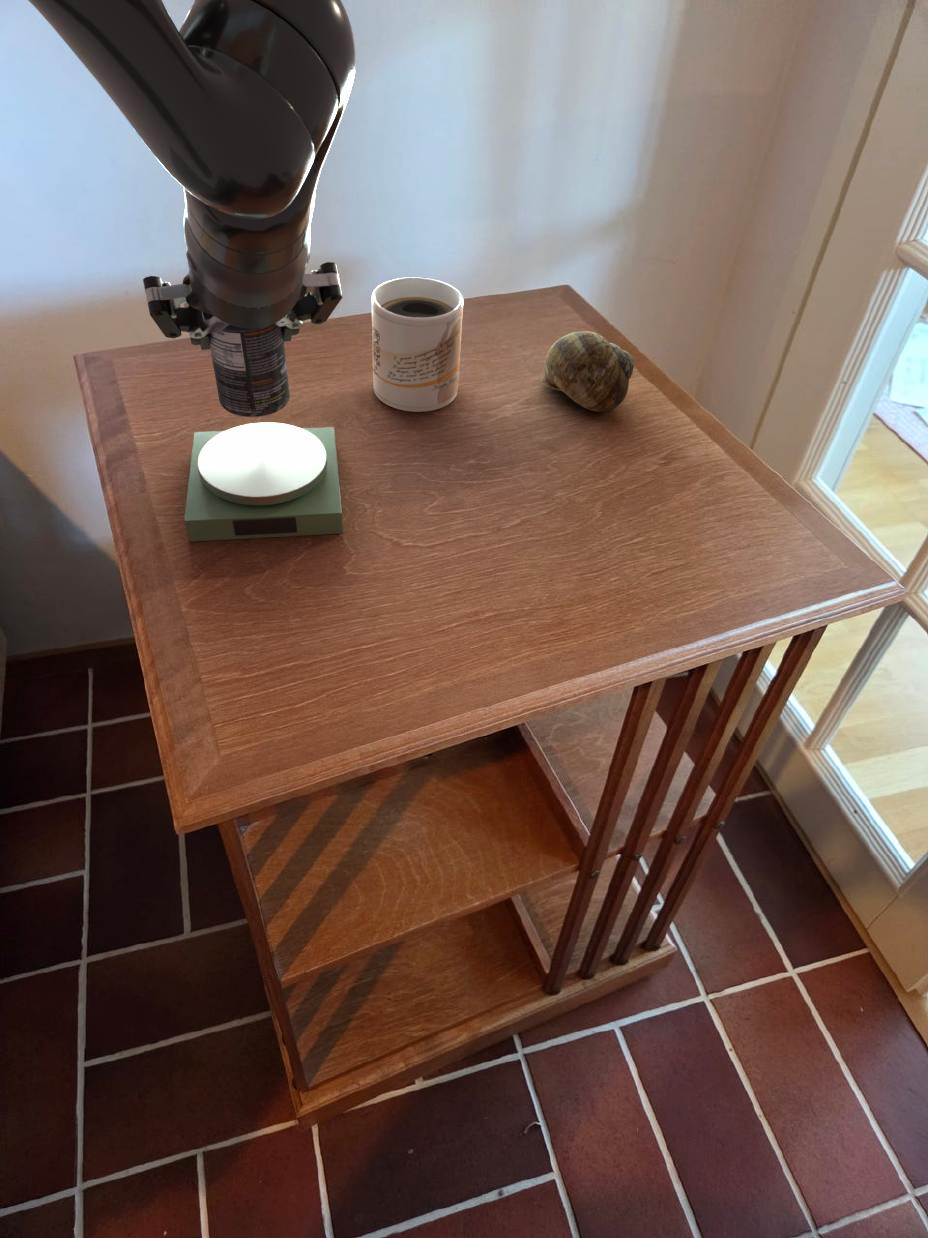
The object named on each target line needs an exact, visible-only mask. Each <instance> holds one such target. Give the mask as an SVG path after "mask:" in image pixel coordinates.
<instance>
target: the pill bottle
mask: <svg viewBox="0 0 928 1238" xmlns="http://www.w3.org/2000/svg"><path fill="white" fill-rule="evenodd" d="M209 340H210V349H209V351H210V355H211V361H212V366H213V372H214V378H215V385H216V389H217V395H218V396H217V397H218V402H219V403H220V405H221V407H222V408H223V409H224V410H226V411H227V412H228V413H230V414H232V415H235V416H238V417H243V418H262V417H266V416H271V415H273V414H276V413H278V412H280V411H281V410H283V409H284V408H285V407H286V405H288V403H289V401H290V396H291V395H290V394H291V393H290V392H291V391H290V386H289V385H290V384H289V377H288V376H289V375H288V368H287V367H288V366H287V365H288V364H287V358H286V348H285V342H284V337H283V327H279V326H277V325H276V324H272V325H269V326H266V327H262V328H241V327H237V326H233V325H230V324H229V325H228V326H227V327H226V328H224V329H223V330H222V331H221V332H219V333H209Z"/></svg>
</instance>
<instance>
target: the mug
mask: <svg viewBox="0 0 928 1238" xmlns="http://www.w3.org/2000/svg"><path fill="white" fill-rule="evenodd" d="M463 316H464V297H463V295H462V293H461V292H460V291H459V290H458V289H457V288H455V287H454V286H452V285H450V284H449V283H446V282H444V281H441V280H437V279H432V278H427V277H401V278H395V279H392V280H388V281H385V282H383V283H381V284H379V285H378V286H377V287H375V289H374V290H373V292H372V294H371V337H372V338H371V339H372V341H371V342H372V345H371V346H372V389H373V393H374V394H375V396H376V397H377V398H378V400H379V401H380V402H382V403H383V404H385V405H387V406H389V407H390V408H391V407H392V408H393V409H396V410H399V411H400V410H401V411H405V412H411V413H420V412H421V413H423V412H425V413H426V412H432V411H437V410H439V409H442V408H444V407H447V406H448V405H450V404H451V403H452V402H454V400H455V399H456V397H457V395H458V392H459V382H460V381H459V380H460V367H461V366H460V363H461V351H462V350H461V348H462V332H463Z"/></svg>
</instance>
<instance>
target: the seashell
mask: <svg viewBox="0 0 928 1238" xmlns="http://www.w3.org/2000/svg"><path fill="white" fill-rule="evenodd" d="M635 365H636V364H635V361H634V357H633V355H632V354H630V353H629V352H628V351H626V350H624V349H622V348H621V347H620V346H619V345H617V344H615V343H614V342H613V343H612V342H608V341H607V340H606V339H605V338H604V337H603V336H602V335H601V334H598V333H596V332H594V331H591V330H589V331H588V330H579V331H573V332H570V333H567V334H565V335H563V336H561V337H560V338H559V339H557V340H556V341H555V342H554V343H552V344H551V347H550V348H549V349H548V351H547V353H546V356H545V359H544V366H543V369H544V370H543V371H544V372H543V373H542V375H541V378H540V381H541V383H542V384H543V385H544V386H546V387H547V388H549V389H551V390H552V389H553V390H555V391H560V392H563V393H564V394H565V395H566V396H567V397H568V398H570V399H571V400H572V401H573V402H575V403H576V404H578V405H579V406H581V407H582V408H584V409H586V410H589V411H592V412H609V411H611V410H613V409H615V408H617V407H618V406H620V405H621V404H622V403H623V402H624V400H625V399H626V397H627V394H628V392H629V384H630V379H631V377H632V375H633V373H634V368H635Z"/></svg>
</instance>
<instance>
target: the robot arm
mask: <svg viewBox="0 0 928 1238" xmlns="http://www.w3.org/2000/svg"><path fill="white" fill-rule="evenodd" d="M27 1H28V2H29V3H30V4H31V5H32V6H33V7H34V8H35V9H36V11H38V12H39V14H40V15H41V16H42V17H43V18H44V19H45V20H46V22H48V24H49V25H50V26H51V27H52V28H53V30H54V31H55V32H56V33H57V35H58V36H60V38H61V40H63V42H64V43H65V44H66V46H68V48H69V49H70V50H71V51H72V53H73V54H74V55H75V56H76V58H77V59H78V60H79V61H80V62H81V63H82V65H83V66H84V67H85V68H86V69H87V71H88V72H89V73H90V74H91V76H92V77H93V78H94V80H95V81H96V82H97V83H98V84H99V85H100V87H101V88H102V89H103V91H104V92H105V93H106V94H107V95H108V97H109V98H110V99H111V100H112V102H113V103H114V105H115V106H116V107H117V108H118V110H120V112H121V114H122V115H123V117H124V118H125V119H126V120H127V121H128V123H129V125H130V126H131V127H132V129H133V130H134V131H135V132H136V134H137V135H138V136H139V138H140V139H141V140H142V142H143V143H144V144H145V146H146V147H147V149H148V150H149V151H150V153H151V154H152V155H153V156H154V157H155V159H157V161H158V162H159V163H160V164H161V166H162V167H163V168H164V169H165V170H166V171H167V173H168V174H169V175H170V176H171V177H172V178H173V179H174V180H175V181H176V182H177V183H179V185H180V186H182V187H183V192H184V193H183V195H184V203H185V207H184V213H183V234H184V243H185V252H186V253H185V255H186V259H187V268H188V273H186V275H185V276H184V277H183V279H182V283H179V284H171V282H169V281H165V282H164V281H163V280H162V278H161V277H160V276H156V275H149V276H146V277H144V278H142V282H143V288H144V293H145V297H146V303H147V307H148V312H149V316H150V318H151V319H152V320H153V321H154V324H156V326H157V327H158V329H159V330H160V331H161V332H162V334H163V336H164V337H165V338H168V339H177V338H180V337H181V336H182V332H184V333H187V334H188V333H189V339H190V343H191V345H193V346H200V350H201V351H208V350H209V351H210V340H209V333H219V332H221V331H222V330H223V329H224V328H226V327H227V326H228V325H229V324H230V325H233V326H237V327H241V328H262V327H266V326H269V325H272V324H276V325H277V326H279V327H283V337H284V343H286V342H291V341H292V338H293V336H297V335H298V334H299V333H300V329H301V328H302V327H303V326H304V323H303V322H305V321H308V320H310V323H311V324H314V325H321V324H324V323H326V322H327V321H328V319H329V318H330V317H331V315H332V313H333V312H334V310H335V309H336V308H337V306H338V305H339V304H340V302H341V300H342V299H343V292H342V286H341V283H340V282H341V281H340V278H339V277H340V275H339V273H338V267H337V263H336V262H333V261H325V262H324V263H322V264H320V265H319V267H318V269H317V270H315V269H314V270H311V272H310V273H306V268H307V264H308V263H309V260H310V257H311V223H312V219H313V213H314V209H315V200H316V190H317V185H318V183H319V178H320V175H321V171H322V168H323V166H324V164H325V161H326V159H327V156H328V153H329V151H330V148H331V146H332V143H333V141H334V138H335V135H336V134H337V130H338V128H339V126H340V123H341V121H342V117H343V114H344V111H345V109H346V107H347V103H348V101H349V97H350V94H351V91H352V87H353V84H354V79H355V74H356V65H357V60H356V59H357V57H356V54H357V53H356V46H355V37H354V33H353V28H352V25H351V21H350V18H349V15H348V13H347V10H346V8H345V6H344V4H343V1H342V0H194V2H193V4H192V6H191V7H190V9H189V11H188V13H187V15H186V17H185V19H184V21H183V23H182V25H181V27H180V29H179V30H178V28H177V26H176V24H175V22H174V21H173V18H172V17H171V15H170V14H169V12H168V9H167V8H166V6H165V3H164V2H163V0H27ZM181 304H183V307H181Z"/></svg>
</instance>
